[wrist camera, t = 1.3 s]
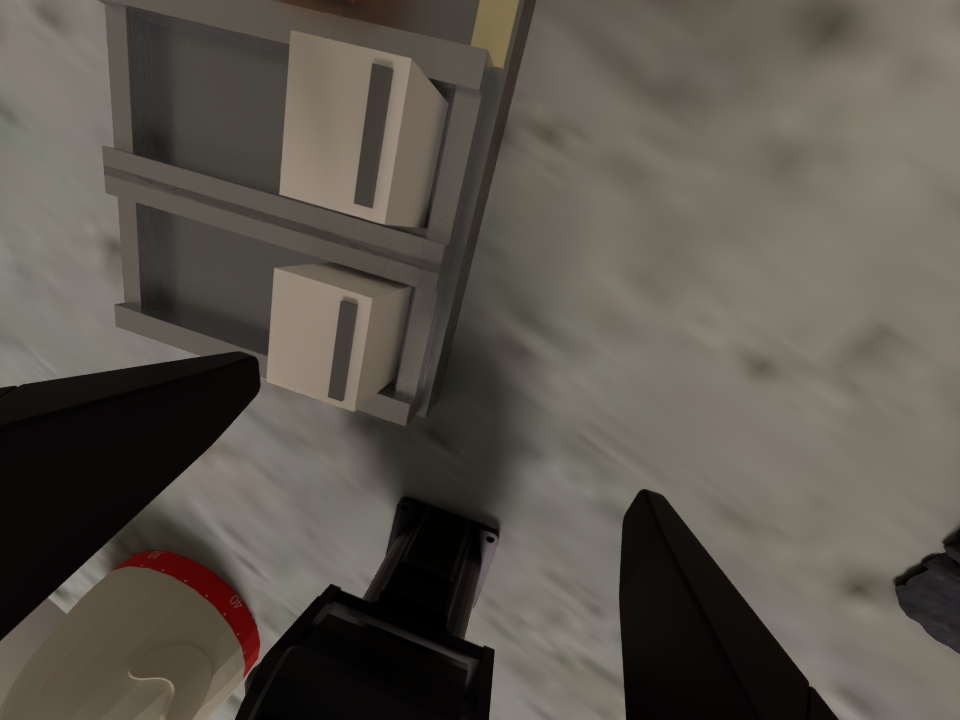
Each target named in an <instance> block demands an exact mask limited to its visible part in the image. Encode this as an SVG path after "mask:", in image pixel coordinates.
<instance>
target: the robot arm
mask: <svg viewBox="0 0 960 720" xmlns="http://www.w3.org/2000/svg"><path fill="white" fill-rule="evenodd" d="M260 385H261V384H260V370H259V361H258V359H257V357H255V356H254V355H251V354H248V353H245V352H242V351H234V352H228V353H222V354H215V355H209V356H202V357H196V358H189V359H183V360H177V361H170V362H164V363H157V364H151V365H145V366H138V367H132V368H125V369H119V370H112V371H106V372H100V373H93V374H87V375H80V376H74V377H68V378H61V379H55V380H48V381H42V382H35V383H29V384H23V385H20V386H19V387H17V386H9V387H3V388H0V641H1V640H2V639H3V638H4V637H5V636H6V635H7V634H8V633H9V632H11V630H13V629H14V628H15V627H16V626H17V625H18V624H19V623H20V622H21V621H23V620H24V619H25V618H26V617H27V616H28V615H29V614H30V613H31V612H32V611H33V610H34V609H36V608H37V607H38V606H39V605H40V604H41V603H42V602H43V601H44V600H45V599H46V598H47V597H48V596H50V595H51V594H52V593H53V592H54V591H55V590H56V589H57V588H58V587H59V586H60V585H61V584H63V583H64V582H65V581H66V580H67V579H68V578H69V577H70V576H71V575H72V574H73V573H74V572H76V571H77V570H78V569H79V568H80V567H81V566H82V565H83V564H84V563H85V562H86V561H87V560H88V559H90V558H91V557H92V556H93V555H94V554H95V553H96V552H97V551H98V550H99V549H100V548H101V547H103V546H104V545H105V544H106V543H107V542H108V541H109V540H110V539H111V538H112V537H113V536H114V535H115V534H117V533H118V532H119V531H120V530H121V529H122V528H123V527H124V526H125V525H126V524H127V523H128V522H130V521H131V520H132V519H133V518H134V517H135V516H136V515H137V514H138V513H139V512H140V511H141V510H143V509H144V508H145V507H146V506H147V505H148V504H149V503H150V502H151V501H152V500H153V499H154V498H155V497H157V496H158V495H159V494H160V493H161V492H162V491H163V490H164V489H165V488H166V487H167V486H168V485H170V484H171V483H172V482H173V481H174V480H175V479H176V478H177V477H178V476H179V475H180V474H181V473H183V472H184V471H185V470H186V469H187V468H188V467H189V466H190V465H191V464H192V463H193V462H194V461H195V460H197V459H198V458H199V457H200V456H201V455H202V454H203V453H204V452H205V451H206V450H207V449H208V448H209V447H210V446H211V445H212V444H213V443H214V442H215V441H216V440H217V439H218V438H219V437H220V436H221V435H222V434H223V432H224V431H225V430H226V429H227V428H228V427H229V426H230V425H231V424H232V422H233V421H234V420H235V419H236V418H237V417H238V416H239V415H240V413H241V412H242V411H243V410H244V409H245V408H246V407H247V406H248V405H249V403H250V402H251V401H252V400H253V399H254V398H255V397H256V395H257V394H258V392H259V390H260ZM404 504H405V505H407V506H408V507H406V506H405V505H404ZM488 536H492V537H493V538H490V537H488ZM498 541H499V533H498V531H497V530H495V529H494V528H491V527H488V526H486V525H483V524H480V523H477V522H475V521H472V520H469V519H466V518H464V517H461V516H458V515H456V514H453V513H450V512H447V511H445V510H442V509H439V508H437V507H434V506H431V505H428V504H426V503H423V502H420V501H417V500H415V499H412V498H409V497H403V498H401V500H400V501H399V503H398V505H397V509H396V513H395V518H394V522H393V526H392V531H391V535H390V539H389V544H388V548H387V552H386V557H385V559H384V561H383V562H382V564H381V566H380V568H379V570H378V571H377V573H376V575H375V577H374V579H373V580H372V582H371V584H370V586H369V588H368V589H367V591H366V593H365V595H364V597H363V598H359V597H357V596H354V595H352V594H349V593H347V592H345V591H342V590H341V588H340V587H338V586H335V585H333V584H330V585H329V586H328V587H327V589H326V590H325V591H324V592H323V593H322V594H321V595H320V596H318V597H317V598H316V599H315V600H314V601H313V602H312V603H311V604H310V606H309V607H308V608H307V609H306V610H305V611H304V612H303V613H302V615H301V616H300V617H299V618H298V619H297V620H296V621H295V622H294V623H293V625H292V626H291V627H290V628H289V629H288V630H287V631H286V632H285V634H284V635H283V636H282V637H281V638H280V639H279V640H278V641H277V642H276V644H275V645H274V646H273V647H272V648H271V649H270V650H269V651H268V653H267V654H266V655H265V656H264V658H263V659H262V661H261V662H260V663H259V664H258V665H257V666H255V667H254V668H253V669H252V671H251V672H250V674H249V675H248V677H247V679H246V682H245V698H244V700H243V702H242V704H241V706H240V708H239V711H238V713H237V716H236V718H235V720H489V712H490V700H491V688H492V676H493V664H494V652H495V650H494V649H492V648H489V647H487V646H483V647H481V646H479V645H476V644H474V643H471V642H469V641H466V640H464V638H465V634H466V630H467V626H468V621H469V617H470V613H471V609H472V608H474V607H475V605H476V603H477V600H478V597H479V594H480V591H481V589H482V586H483V583H484V580H485V578H486V575H487V572H488V569H489V566H490V564H491V561H492V558H493V555H494V553H495V550H496V547H497V544H498ZM619 607H620V624H621V641H622V658H623V674H624V691H625V707H626V720H839V719H838V718H837V717H836V716H835V714H834V713H833V712H832V710H831V709H830V708H829V707H828V705H827V704H826V703H825V701H824V700H823V699H822V698H821V696H820V695H819V694H818V693H817V691H816V690H815V689H814V688H813V687H810V686H809V682H808V680H807V679H806V677H805V676H804V675H803V674H802V672H801V671H800V670H799V668H798V667H797V666H796V665H795V663H794V662H793V661H792V659H791V658H790V657H789V656H788V654H787V653H786V652H785V651H784V649H783V648H782V647H781V645H780V644H779V643H778V642H777V640H776V639H775V638H774V636H773V635H772V634H771V633H770V631H769V630H768V629H767V627H766V626H765V625H764V624H763V622H762V621H761V620H760V619H759V617H758V616H757V615H756V613H755V612H754V611H753V610H752V608H751V607H750V606H749V604H748V603H747V602H746V601H745V599H744V598H743V597H742V595H741V594H740V593H739V592H738V590H737V589H736V588H735V587H734V585H733V584H732V583H731V581H730V580H729V579H728V578H727V576H726V575H725V574H724V572H723V571H722V570H721V569H720V567H719V566H718V565H717V563H716V562H715V561H714V560H713V558H712V557H711V556H710V555H709V553H708V552H707V551H706V549H705V548H704V547H703V546H702V544H701V543H700V542H699V540H698V539H697V538H696V537H695V535H694V534H693V533H692V531H691V530H690V529H689V528H688V526H687V525H686V524H685V523H684V521H683V520H682V519H681V517H680V516H679V515H678V514H677V512H676V511H675V510H674V508H673V507H672V506H671V505H670V503H669V502H668V501H667V499H666V498H665V497H664V496H663V495H661V494H659V493H656V492H653V491H650V490H647V489H642V490H640V491H639V492H638V494H637V495H636V497H635V499H634V500H633V502H632V504H631V505H630V507H629V508H628V510H627V512H626V514H625V516H624V519H623V525H622V544H621V563H620V583H619Z"/></svg>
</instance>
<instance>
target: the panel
mask: <svg viewBox="0 0 960 720" xmlns="http://www.w3.org/2000/svg"><path fill="white" fill-rule="evenodd" d="M98 1H100V2H102V3H104V4H105V14H106V29H107V44H108V59H109V74H110V89H111V104H112V119H113V134H114V148H111V147H106V146H102V150H103V163H104V176H105V189H106V193H107V194H111V195H114V196H117V197H118V209H119V223H120V238H121V253H122V268H123V283H124V298H125V303H121V304H114V306H115V320H116V327H119V328H122V329H125V330H128V331H131V332H134V333H137V334H139V335H142V336H145V337H148V338H151V339H154V340H157V341H160V342H163V343H165V344H168V345H171V346H174V347H177V348H180V349H183V350H186V351H188V352H191V353H194V354H197V355H200V356H209V355H215V354H222V353H228V352H234V351H242V352H245V353H248V354H251V355H254V356H255V357H257V359H258V361H259V370H260V376H261V377H264V378H267V364H268V350H269V335H270V321H271V307H272V292H273V278H274V268H276V267H287V266H297V265H308V264H318V263H329V262H334V263H338V264H341V265H344V266H348V267H351V268H354V269H358V270H361V271H364V272H367V273H371V274H374V275H377V276H381V277H384V278H387V279H390V280H394V281H397V282H400V283H404V284H407V285H410V286H412V291H411V296H410V302H409V307H408V312H407V317H406V322H405V327H404V332H403V337H402V342H401V347H400V352H399V357H398V362H397V367H396V372H395V377H394V379H393V380H392V381H391V382H390V383H388V384H387V385H386V386H385V387H384V388H382V389H381V390H380V391H379V392H378V393H376V394H375V395H374V396H373V397H372V398H370V399H369V400H368V401H367V402H366V403H364V404H363V405H362V406H361V407H360V408H358V409H357V410H359V411H362V412H365V413H367V414H370V415H373V416H376V417H379V418H382V419H385V420H388V421H391V422H393V423H396V424H399V425H402V426H406V425H407V424H408V423H409V422H410V420H411V419H412V418H413V417H414V416H415V415H418V416H421V417H424V418H426V416H427V415H428V414H429V412H430V411H431V410H432V408H433V407H434V406H435V404H436V403H437V400H438V396H439V392H440V388H441V384H442V380H443V376H444V372H445V368H446V364H447V360H448V356H449V352H450V348H451V344H452V340H453V335H454V331H455V327H456V323H457V319H458V315H459V311H460V307H461V303H462V299H463V295H464V291H465V287H466V283H467V279H468V274H469V270H470V266H471V262H472V258H473V254H474V250H475V246H476V242H477V238H478V234H479V230H480V226H481V222H482V218H483V214H484V209H485V205H486V201H487V197H488V193H489V189H490V185H491V181H492V177H493V173H494V169H495V165H496V161H497V157H498V153H499V149H500V144H501V140H502V136H503V132H504V128H505V124H506V120H507V116H508V112H509V108H510V104H511V100H512V96H513V92H514V88H515V83H516V79H517V75H518V71H519V67H520V63H521V59H522V55H523V51H524V47H525V43H526V39H527V35H528V31H529V27H530V23H531V18H532V14H533V10H534V6H535V2H536V0H354V4H353V3H349V2H344V1H340V0H98ZM291 30H293V31H297V32H302V33H306V34H310V35H314V36H319V37H323V38H327V39H331V40H336V41H340V42H344V43H348V44H352V45H357V46H361V47H365V48H369V49H374V50H378V51H382V52H386V53H391V54H395V55H399V56H403V57H408V58H412V60H413V61H414V62H415V63H416V65H417V66H418V67H419V68H420V69H421V71H422V72H423V73H424V74H425V76H426V77H427V78H428V79H429V80H430V82H431V83H432V84H433V85H434V87H435V88H436V89H437V90H438V91H439V93H440V94H441V95H442V96H443V97H444V99H445V100H446V101H447V102H448V109H447V114H446V119H445V124H444V129H443V134H442V140H441V145H440V150H439V155H438V160H437V165H436V170H435V175H434V180H433V185H432V190H431V195H430V200H429V205H428V210H427V215H426V221H425V226H424V228H417V227H406V226H394V225H384V224H381V223H377V222H374V221H370V220H367V219H363V218H360V217H356V216H353V215H349V214H346V213H342V212H339V211H335V210H332V209H328V208H325V207H322V206H318V205H315V204H311V203H308V202H304V201H301V200H297V199H294V198H290V197H287V196H283V195H280V194H279V192H280V178H281V163H282V149H283V134H284V120H285V106H286V91H287V77H288V63H289V48H290V34H291Z"/></svg>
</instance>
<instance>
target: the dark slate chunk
mask: <svg viewBox="0 0 960 720" xmlns="http://www.w3.org/2000/svg"><path fill="white" fill-rule="evenodd" d="M943 547H944V549H945V550H946V553H943V554H938V555H937V556H935V557H934V558H932V559H931V560H929V561H927V562H925V563H922V565H923V566H924V568H925V569H926V570H927V571H925V572H923V573H921V574H919V575H916V576H914V577H912V578H911V579H909V580H908V582H907V583H906V584H903V585H900V586H898V587H897V588H896V589H895V590H896V594H897V596H898V601H899V605H900V607H901V608H902V610H903V611H904V612H905V614H906V615H907V616H908V617H909V618H911V619H913V620H915V621H917V622H918V623H920V624H921V625H922V626H923V628H924V629H925V631H926V632H927V633H928V634H929V635H930V636H932V637H933V638H934V639H935V640H937V641H939V642H940V643H942V644H944V645H946V646H949V647H950V648H952V649H953V650H954V651H956V652H957V653H959V654H960V531H959V532H958V539H957V540H956V541H955V542H953V543H951V544H948V545H945V546H943ZM952 558H953V559H954V560H952Z"/></svg>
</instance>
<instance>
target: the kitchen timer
mask: <svg viewBox="0 0 960 720" xmlns="http://www.w3.org/2000/svg"><path fill="white" fill-rule="evenodd" d="M259 648H260V640H259V635H258V630H257V626H256V624H255V622H254V620H253V618H252V616H251V614H250V612H249V610H248V608H247V606H246V605H245V604H244V603H243V601H242V600H241V599H240V598H239V596H238V595H237V594H236V593H235V592H234V590H233V589H232V588H231V587H230V586H229V585H227V584H226V583H225V582H224V581H223V580H222V579H220V578H219V577H218V576H217V575H216V574H215V573H213V572H212V571H210V570H209V569H207V568H205V567H203V566H202V565H200V564H198V563H197V562H195V561H193V560H191V559H189V558H186V557H183V556H180V555H177V554H174V553H171V552H163V551H146V552H142V553H138V554H135V555H133V556H132V557H130V558H129V559H128V560H126V561H125V562H124V563H122V564H121V565H119V566H118V567H117V568H115V569H114V570H113V571H112V572H110V573H109V574H108V575H107V576H106V577H104V578H103V579H102V580H101V581H100V582H99V583H97V584H96V585H95V586H94V587H93V588H92V589H91V590H90V591H89V592H88V593H86V594H85V595H84V596H83V597H82V598H81V599H80V600H79V602H78V603H77V604H76V605H75V606H74V607H73V608H72V609H71V610H70V611H69V613H68V614H67V615H66V616H65V617H64V618H63V619H62V621H61V622H60V623H59V624H58V625H57V626H56V627H55V628H54V630H53V631H52V632H51V633H50V634H49V636H48V637H47V638H46V639H45V640H44V641H43V642H42V644H41V645H40V646H39V647H38V648H37V650H36V651H35V652H34V654H33V655H32V656H31V658H30V659H29V661H28V662H27V663H26V665H25V666H24V668H23V669H22V671H21V672H20V674H19V675H18V677H17V679H16V680H15V682H14V683H13V685H12V687H11V689H10V690H9V692H8V694H7V696H6V698H5V700H4V701H3V703H2V706H1V708H0V720H207V719H208V718H209V717H210V716H211V715H212V714H213V713H214V712H215V711H216V710H218V708H219V707H220V706H221V705H222V704H223V703H224V702H225V701H226V700H227V699H228V698H229V696H230V695H231V694H232V693H233V692H234V691H235V689H236V688H237V686H238V685H239V684H240V682H241V681H242V680H243V678H244V677H245V676H246V674H247V673H248V671H249V670H250V669H251V667H252V666H253V665H254V663H255V662H256V660H257V659H258V654H259Z"/></svg>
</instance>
